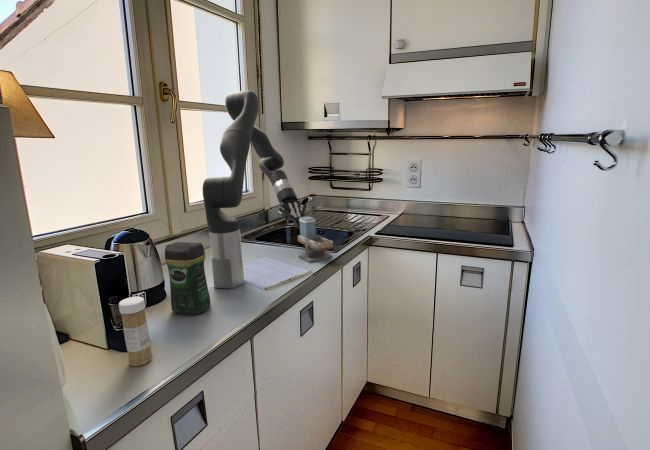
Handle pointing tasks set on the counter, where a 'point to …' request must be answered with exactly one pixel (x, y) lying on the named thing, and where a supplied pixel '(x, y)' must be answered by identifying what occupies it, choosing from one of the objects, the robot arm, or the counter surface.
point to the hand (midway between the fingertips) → (300, 226)
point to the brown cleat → (315, 248)
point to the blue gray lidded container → (307, 227)
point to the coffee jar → (187, 278)
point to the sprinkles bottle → (135, 330)
